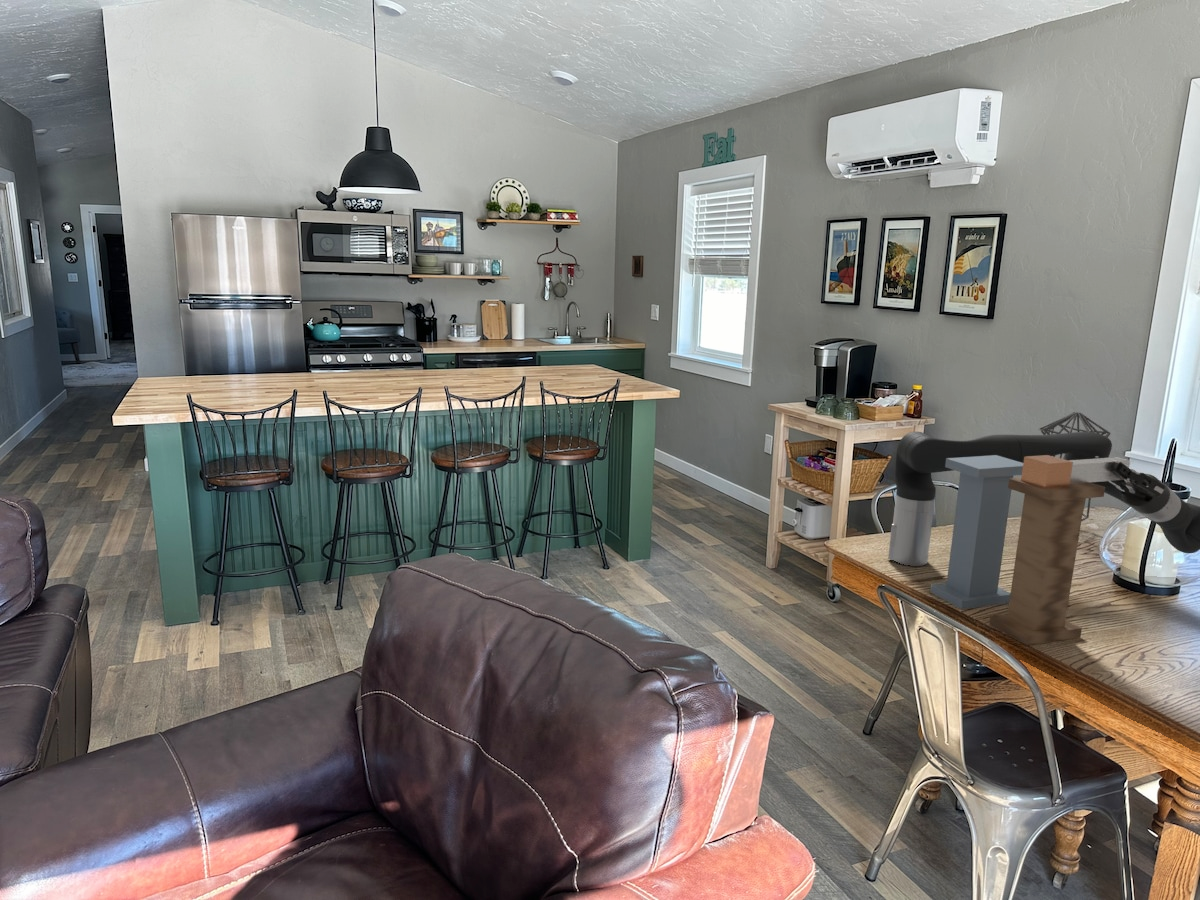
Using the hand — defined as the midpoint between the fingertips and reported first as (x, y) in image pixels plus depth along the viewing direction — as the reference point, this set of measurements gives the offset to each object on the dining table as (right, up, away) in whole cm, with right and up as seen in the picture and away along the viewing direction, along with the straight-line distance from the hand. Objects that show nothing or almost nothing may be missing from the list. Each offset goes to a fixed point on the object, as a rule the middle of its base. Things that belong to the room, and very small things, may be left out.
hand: (1105, 463), depth 165 cm
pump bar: (-6, -4, -1) cm, 7 cm away
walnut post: (-12, -35, +4) cm, 37 cm away
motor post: (-18, -31, +21) cm, 42 cm away
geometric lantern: (+31, -21, +72) cm, 81 cm away
